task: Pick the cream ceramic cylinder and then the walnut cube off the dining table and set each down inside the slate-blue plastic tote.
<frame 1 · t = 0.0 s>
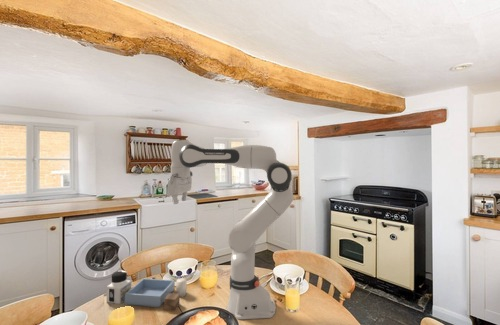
hand: (180, 202, 117), 48 cm above the table, fingers open, 8 cm apart
tote: (151, 296, 121), on the table
container: (119, 299, 119), on the table
cream cylinder: (181, 294, 123), on the table
walnut cube: (172, 307, 112), on the table
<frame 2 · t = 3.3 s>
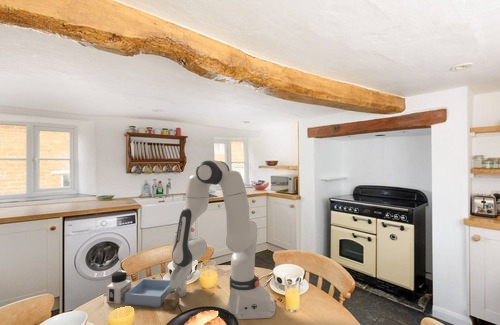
hand: (181, 288, 123), 3 cm above the table, fingers closed on cream cylinder, 5 cm apart
cream cylinder: (181, 294, 123), on the table, touching gripper
everything else where it was.
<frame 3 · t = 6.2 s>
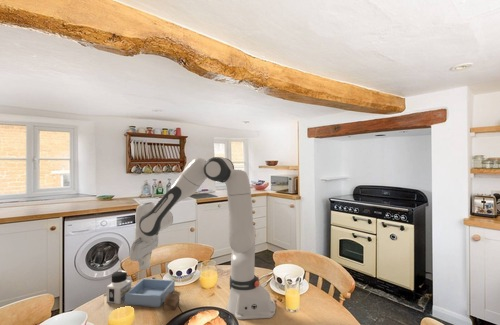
hand: (144, 262, 121), 17 cm above the table, fingers closed on cream cylinder, 5 cm apart
cream cylinder: (144, 267, 121), point 14 cm above the table, touching gripper
everything else where it was.
when the fingers open (5 cm above the table, at t = 8.7 s): cream cylinder drops 2 cm, resting on tote.
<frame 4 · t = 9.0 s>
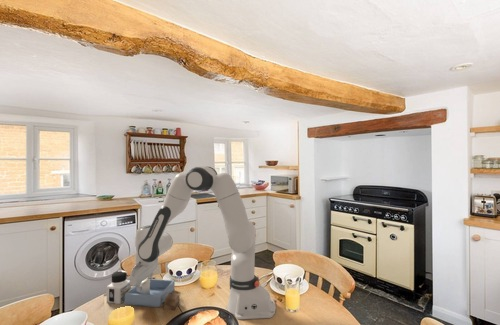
hand: (144, 286, 121), 5 cm above the table, fingers open, 8 cm apart
cream cylinder: (144, 295, 121), point 1 cm above the table, touching tote
everything else where it was.
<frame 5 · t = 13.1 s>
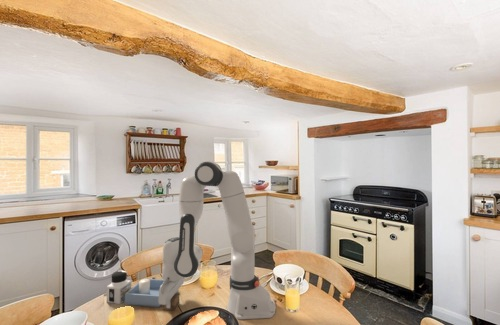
hand: (172, 303, 113), 2 cm above the table, fingers closed on walnut cube, 5 cm apart
walnut cube: (172, 306, 112), on the table, touching gripper
everything else where it was.
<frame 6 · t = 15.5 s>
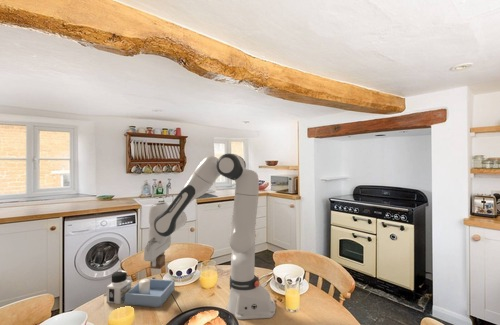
hand: (157, 263, 120), 17 cm above the table, fingers closed on walnut cube, 5 cm apart
walnut cube: (157, 266, 120), point 15 cm above the table, touching gripper
everything else where it was.
when the fingers open (5 cm above the table, at t = 18.1 s): walnut cube drops 2 cm, resting on tote.
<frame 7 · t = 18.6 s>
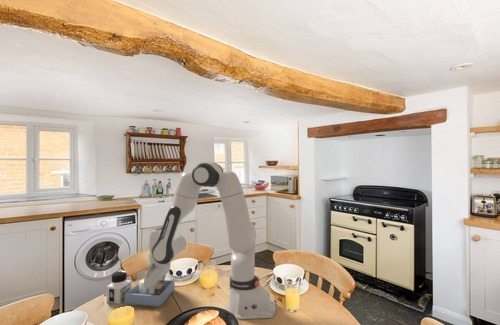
hand: (157, 288, 120), 5 cm above the table, fingers open, 8 cm apart
walnut cube: (157, 296, 120), point 1 cm above the table, touching tote
everything else where it was.
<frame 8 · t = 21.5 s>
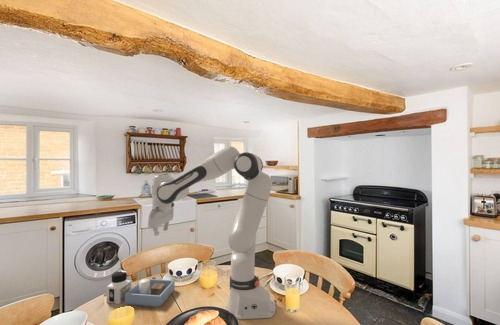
hand: (161, 232, 124), 31 cm above the table, fingers open, 8 cm apart
nothing on the table moved.
at the end: cream cylinder inside the target area on the tote (3.5 cm from its centre), point 0.6 cm above the tote's base; walnut cube inside the target area on the tote (3.5 cm from its centre), point 0.6 cm above the tote's base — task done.
